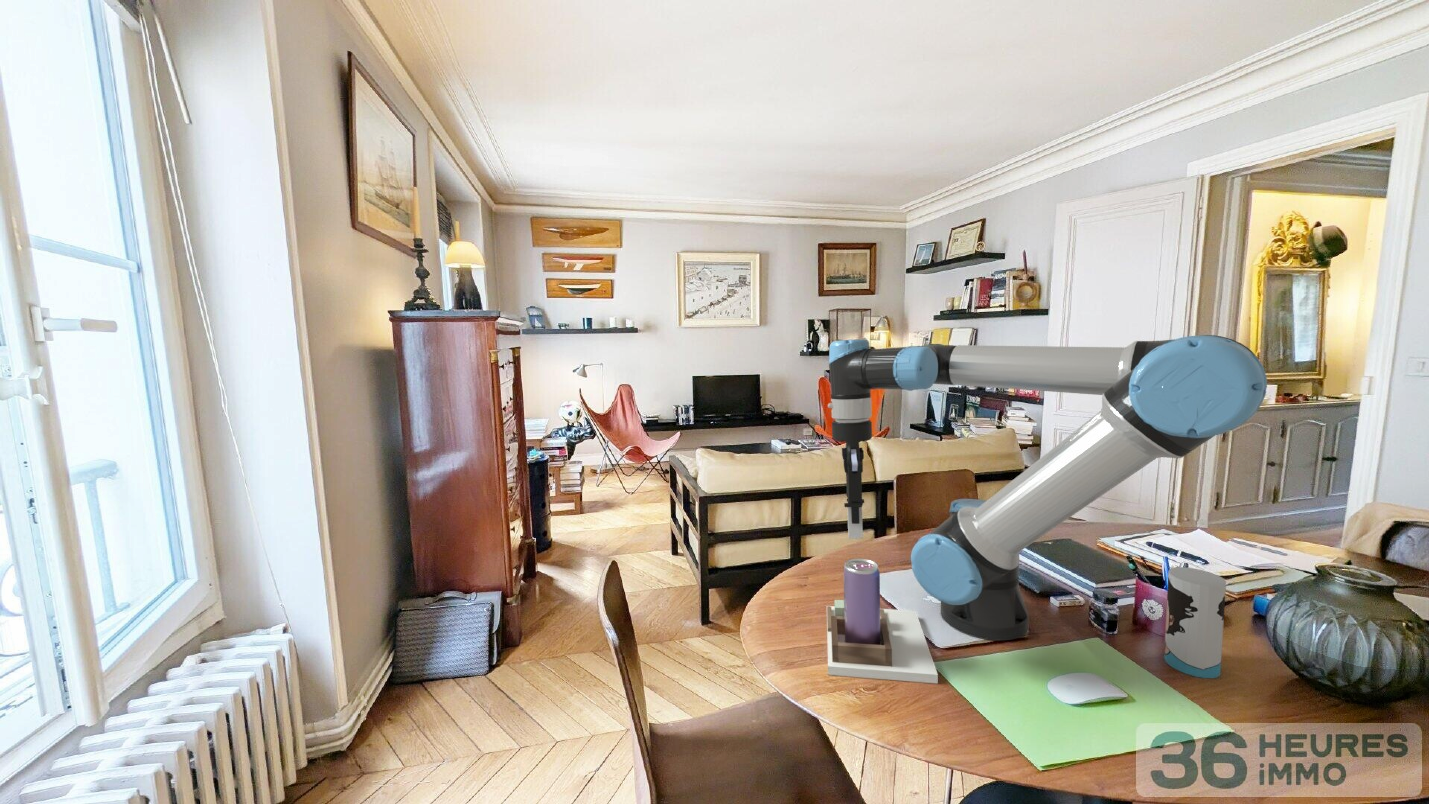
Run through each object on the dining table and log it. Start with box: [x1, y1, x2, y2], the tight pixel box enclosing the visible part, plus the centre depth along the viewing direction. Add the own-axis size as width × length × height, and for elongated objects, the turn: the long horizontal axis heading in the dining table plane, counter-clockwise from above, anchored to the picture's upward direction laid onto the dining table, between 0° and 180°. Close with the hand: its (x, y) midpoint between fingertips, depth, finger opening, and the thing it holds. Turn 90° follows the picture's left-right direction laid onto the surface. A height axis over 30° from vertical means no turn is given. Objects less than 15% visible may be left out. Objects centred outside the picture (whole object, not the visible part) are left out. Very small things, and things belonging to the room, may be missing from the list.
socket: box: [831, 616, 892, 667], centre depth 91 cm, size 10×10×3 cm
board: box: [826, 605, 939, 684], centre depth 94 cm, size 17×20×2 cm
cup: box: [1163, 566, 1227, 679], centre depth 83 cm, size 7×7×15 cm
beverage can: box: [842, 558, 881, 645], centre depth 90 cm, size 6×6×15 cm
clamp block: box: [834, 599, 844, 616], centre depth 98 cm, size 8×3×4 cm, turn 79°
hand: (855, 537), depth 103 cm, fingers closed
